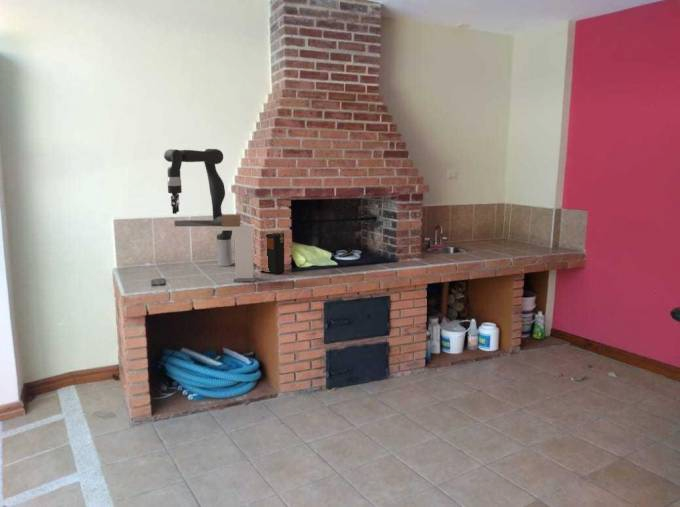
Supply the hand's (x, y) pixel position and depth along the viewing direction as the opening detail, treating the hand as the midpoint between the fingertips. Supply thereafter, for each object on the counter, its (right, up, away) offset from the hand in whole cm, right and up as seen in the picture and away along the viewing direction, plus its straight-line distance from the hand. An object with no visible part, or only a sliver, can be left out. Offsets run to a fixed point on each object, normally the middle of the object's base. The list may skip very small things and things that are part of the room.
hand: (175, 212), depth 315 cm
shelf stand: (+34, -39, 0) cm, 52 cm away
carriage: (+20, -8, -8) cm, 23 cm away
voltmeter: (+53, -36, +21) cm, 67 cm away
